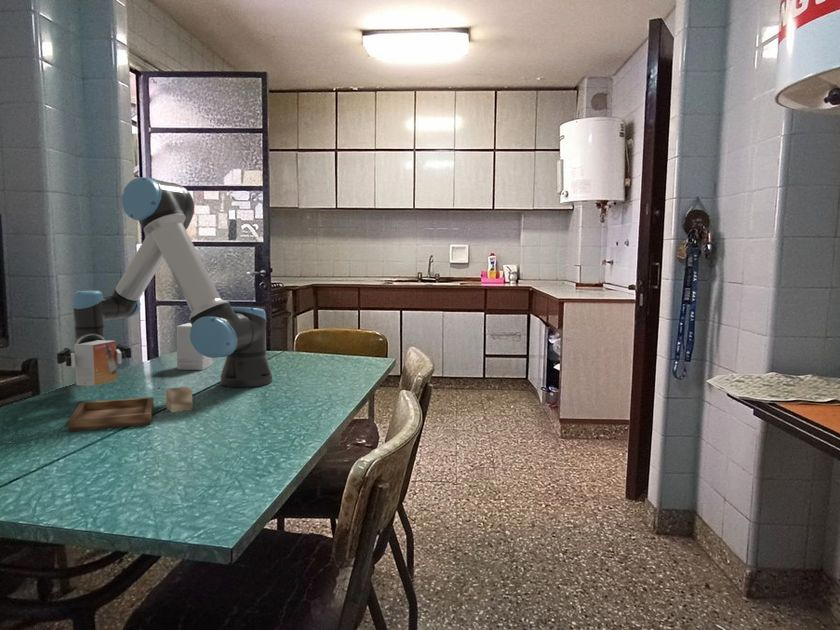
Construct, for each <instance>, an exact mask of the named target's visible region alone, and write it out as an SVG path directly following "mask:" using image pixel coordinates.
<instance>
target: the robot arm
mask: <svg viewBox="0 0 840 630" xmlns="http://www.w3.org/2000/svg"><path fill="white" fill-rule="evenodd" d="M120 200H121V207H122V210H123V212H124V213H125V214H126V215H127V216H128V217H129V218H130V219H133V220H135V221H138V222H139V225H140V227H141V228H142V230H143V232H144V234H146V236H145V238H144V240H143V241H142V243H141V245H140V247H139V248H138V250H137V251H136V254H135V255H134V256H133V258H132V259H131V262H130V263H129V265H128V266H127V268H126V269H125V272H124V273H123V275H122V276H121V278H120V280H119V281H118V283H117V286H116V287H115V289H114V290H113V292H112V293H111V294H110V295H103V292H102V291H101V290H79V291H75V292H74V293H73V295H72V296H73V298H72V310H73V322H74V345H75V344H82V343H87V342H92V341H96V340H106V337H105V321H111V320H118V319H119V320H120V319H127V318H131V317H134V316H137V314H138V313H140V310H141V305H142V304H141V300H140V299H141V297H142V295H143V293H144V292H145V291H146V289H147V287H148V285H150V282H151V280H152V279H153V277H154V276H155V275H156V273H157V271H158V269H160V267H161V264H162V263H163V261H164V260H165V261H164V262H165V263H166V264H167V267H168V268H169V270H170V273H171V275H172V277H173V279H174V280H175V282H176V284H177V286H178V288H179V291H180V292H181V294H182V296H183V298H184V300H185V302H186V303H187V305H188V308H189V310H190V312H191V313H190V315H189V319H188V320H189V323H191V325H192V327H191V329H190V331H191V333H190V340H191V343H192V345H193V347H194V348H195V349H196V350H197V351H198V352H199V353H200V354H202V355H203V356H206V357H209V358H212V359H217V358H225V357H226V358H225V360H224V364H223V368H222V372H221V374H220V384H221V385H222V386H226V387H229V388H230V387H231V388H252V387H260V386H266V385H268V384H270V383H272V381H273V373H272V370H271V367H270V363H269V361H268V358H267V318H266V317H267V316H266V311H265V309H263V308H256V307H241V306H239V307H238V306H232V305H231V303H230V302H229V301H227V300H225V299H222V298H221V296H220V294H219V292H218V290H217V289H216V288H217V287H215V285H214V282H213V280H212V278H211V276H210V275H209V273H208V270H207V268H206V267H205V265H204V263H203V260H202V259H201V257H200V255H199V253H198V250H197V249H196V247H195V245H194V243H193V241H192V240H191V237H190V235H189V234H188V231H187V230H188V228H189V226H190V224H191V221H192V219H193V216H194V213H195V203H194V199H193V196H192V194H191V192H189V191H188V189H186V187H184V186H182V185H180V184H179V183H174V182H169V181H164V180H160V179H156V178H154V177H143V176H142V177H141V176H140V177H139V176H138V177H136V178H134V179H132V180H130V181H129V182H128V183H127V184H126V185H125V187H124V189H123V194H121V199H120ZM131 358H132V348H131V347H128V346H124V345H122V344H119V343H118V344H116V359H117V365H119V364H120V365H121V364H122V363H123V360H124V359H131ZM56 360H57V364H58V365H62V364H64V363H65V367H71V368H72V369H74V368H76V365H75V353H74V350H73V349H72V348H68V347H64V348H63V349H62V350H61V351H59V352H58V353H56Z"/></svg>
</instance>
